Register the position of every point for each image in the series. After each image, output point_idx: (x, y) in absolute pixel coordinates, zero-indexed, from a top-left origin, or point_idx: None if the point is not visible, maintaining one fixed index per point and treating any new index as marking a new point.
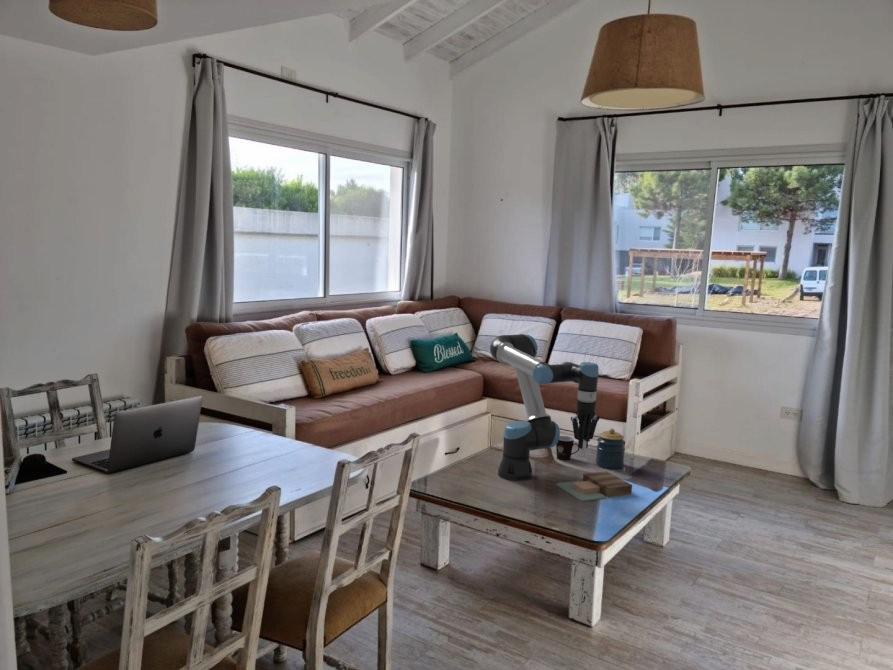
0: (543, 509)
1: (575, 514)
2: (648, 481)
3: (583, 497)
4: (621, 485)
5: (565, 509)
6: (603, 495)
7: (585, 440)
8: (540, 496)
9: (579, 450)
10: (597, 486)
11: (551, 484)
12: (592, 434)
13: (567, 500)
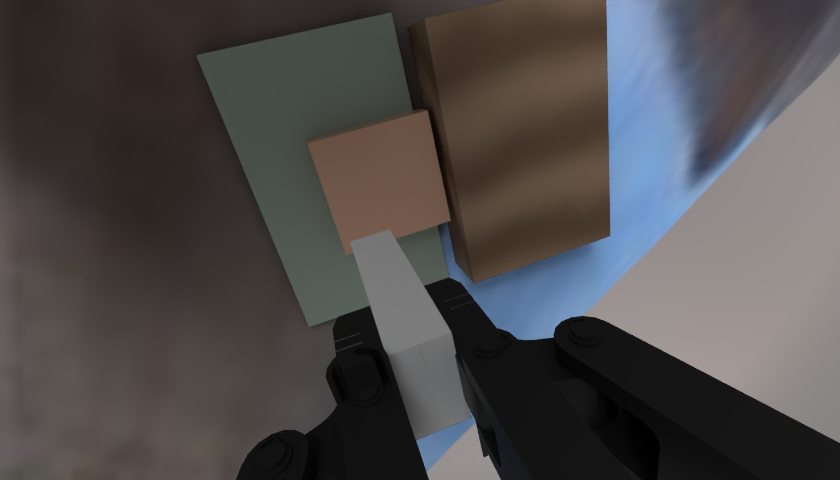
0: (72, 436)
1: (239, 457)
2: (750, 43)
3: (328, 294)
4: (557, 244)
5: (200, 418)
6: (441, 261)
7: (466, 397)
8: (59, 271)
9: (359, 271)
10: (442, 210)
11: (166, 46)
12: (651, 468)
13: (233, 315)
